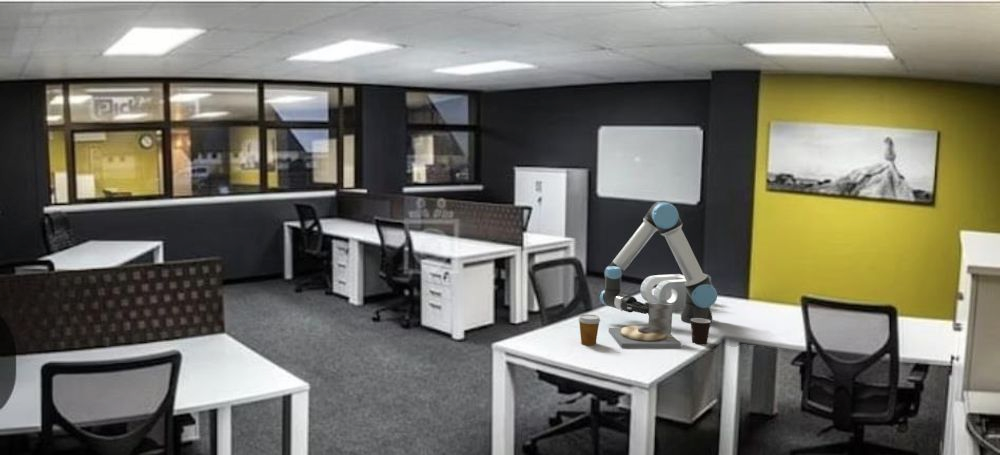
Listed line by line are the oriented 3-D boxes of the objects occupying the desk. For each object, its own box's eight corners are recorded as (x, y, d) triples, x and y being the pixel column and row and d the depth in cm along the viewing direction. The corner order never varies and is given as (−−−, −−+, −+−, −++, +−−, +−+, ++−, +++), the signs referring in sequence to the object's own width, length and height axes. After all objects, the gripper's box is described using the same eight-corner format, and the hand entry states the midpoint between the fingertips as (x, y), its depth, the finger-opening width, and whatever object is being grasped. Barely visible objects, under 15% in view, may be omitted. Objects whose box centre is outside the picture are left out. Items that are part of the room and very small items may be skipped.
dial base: (663, 331, 334) (663, 327, 334) (680, 347, 309) (681, 342, 308) (608, 331, 333) (608, 326, 332) (621, 348, 307) (621, 342, 307)
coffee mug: (706, 346, 312) (707, 324, 310) (686, 343, 316) (688, 321, 315) (713, 340, 321) (714, 318, 320) (694, 337, 326) (695, 315, 325)
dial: (620, 339, 313) (621, 306, 311) (621, 327, 332) (622, 296, 330) (671, 342, 308) (673, 309, 307) (670, 330, 328) (671, 299, 326)
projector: (658, 311, 376) (659, 282, 374) (639, 303, 394) (640, 276, 392) (714, 306, 388) (715, 279, 386) (693, 299, 405) (695, 273, 404)
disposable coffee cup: (603, 343, 313) (604, 316, 312) (590, 347, 306) (591, 320, 305) (586, 339, 320) (586, 313, 318) (573, 343, 313) (574, 316, 311)
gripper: (635, 309, 343) (672, 320, 323) (615, 312, 335) (652, 323, 316) (636, 294, 342) (673, 304, 322) (616, 296, 335) (652, 307, 315)
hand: (662, 313), depth 319 cm, fingers closed
